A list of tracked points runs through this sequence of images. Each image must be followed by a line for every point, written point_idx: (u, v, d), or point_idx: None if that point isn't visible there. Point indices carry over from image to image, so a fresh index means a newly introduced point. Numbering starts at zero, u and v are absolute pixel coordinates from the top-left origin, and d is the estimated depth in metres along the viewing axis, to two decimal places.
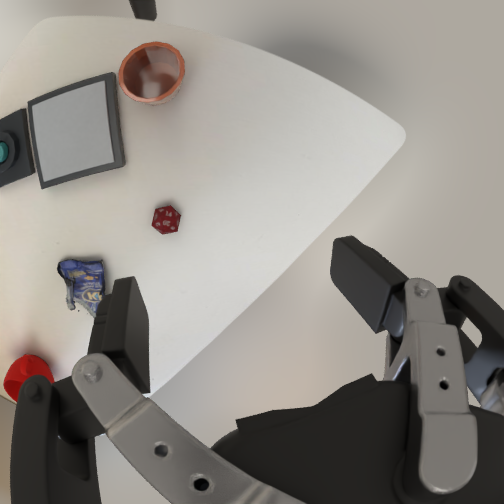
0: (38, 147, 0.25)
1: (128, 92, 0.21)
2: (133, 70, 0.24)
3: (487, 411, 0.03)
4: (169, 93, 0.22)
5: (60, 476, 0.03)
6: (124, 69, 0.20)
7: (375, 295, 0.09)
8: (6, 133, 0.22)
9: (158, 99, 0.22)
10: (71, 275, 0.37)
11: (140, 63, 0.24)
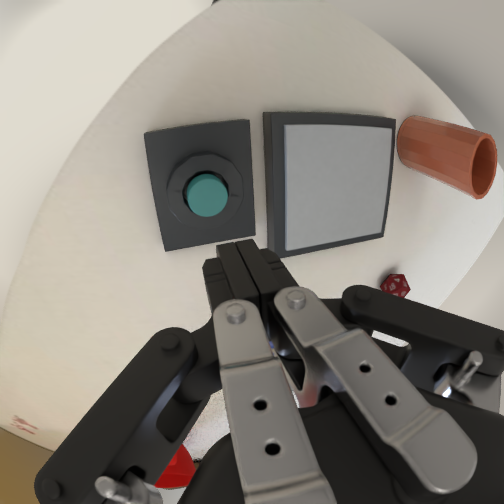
0: (289, 198, 0.22)
1: (471, 185, 0.18)
2: None
3: (468, 424, 0.03)
4: (486, 193, 0.19)
5: (148, 433, 0.04)
6: None
7: None
8: (225, 160, 0.19)
9: (481, 197, 0.19)
10: None
11: None
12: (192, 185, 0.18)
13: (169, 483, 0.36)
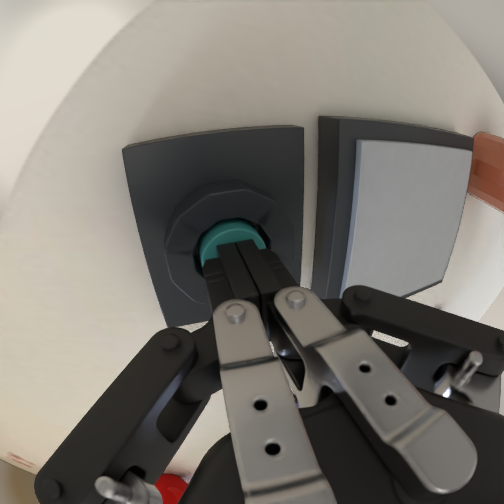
0: (354, 252, 0.14)
1: None
2: None
3: (468, 424, 0.03)
4: None
5: (148, 433, 0.04)
6: None
7: None
8: (267, 199, 0.11)
9: None
10: None
11: None
12: (209, 239, 0.11)
13: None
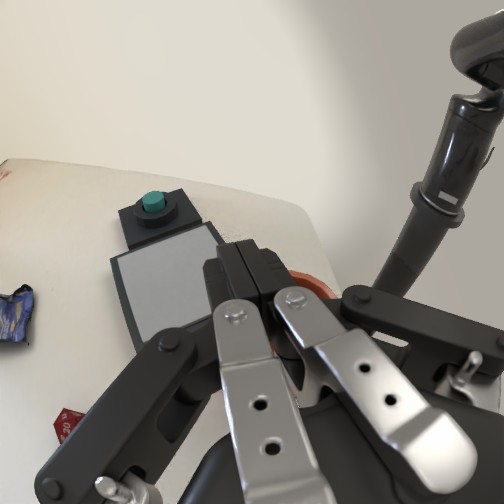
0: (157, 244, 0.30)
1: None
2: None
3: (468, 424, 0.03)
4: None
5: (148, 433, 0.04)
6: None
7: None
8: (174, 206, 0.34)
9: None
10: (18, 304, 0.25)
11: None
12: None
13: None
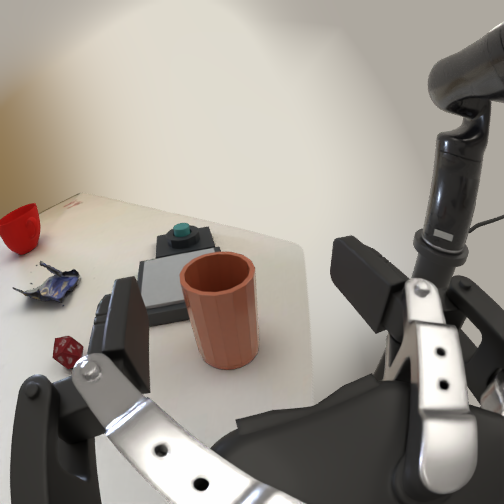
0: (174, 255, 0.41)
1: (193, 260, 0.25)
2: None
3: (487, 411, 0.03)
4: (187, 288, 0.22)
5: (60, 476, 0.03)
6: (221, 257, 0.26)
7: (375, 295, 0.09)
8: (195, 234, 0.46)
9: (181, 281, 0.22)
10: (65, 282, 0.39)
11: None
12: None
13: (2, 221, 0.48)
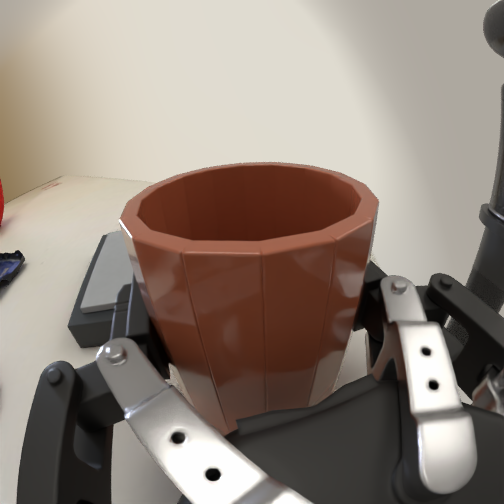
0: None
1: (177, 177, 0.09)
2: None
3: (483, 412, 0.03)
4: (136, 233, 0.05)
5: (73, 464, 0.03)
6: (252, 175, 0.10)
7: None
8: None
9: (124, 216, 0.06)
10: (6, 269, 0.22)
11: None
12: None
13: None
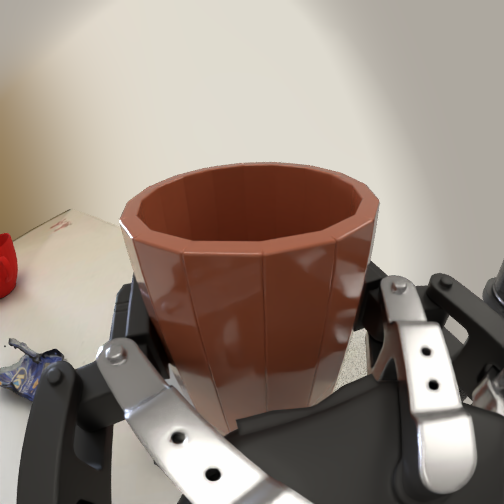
0: None
1: (177, 177, 0.09)
2: None
3: (483, 412, 0.03)
4: (137, 233, 0.05)
5: (73, 464, 0.03)
6: (252, 175, 0.10)
7: None
8: None
9: (124, 216, 0.06)
10: (46, 365, 0.25)
11: None
12: None
13: None
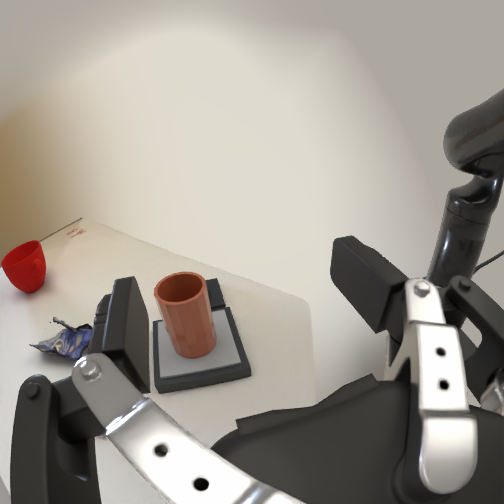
0: None
1: (165, 278, 0.34)
2: None
3: (487, 411, 0.03)
4: (158, 299, 0.31)
5: (60, 476, 0.03)
6: (185, 276, 0.35)
7: (375, 295, 0.09)
8: None
9: (155, 294, 0.31)
10: (79, 336, 0.40)
11: None
12: None
13: (7, 259, 0.49)
